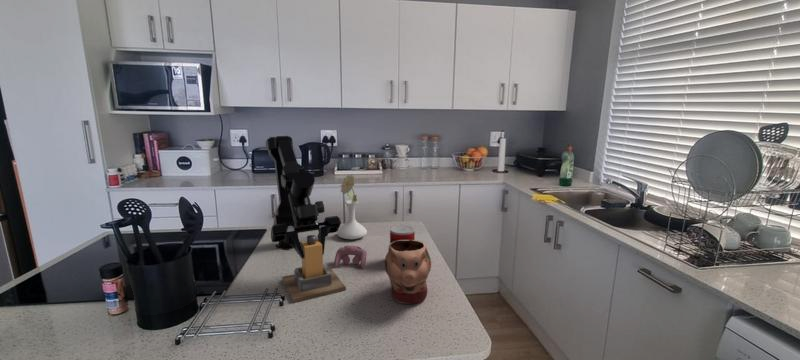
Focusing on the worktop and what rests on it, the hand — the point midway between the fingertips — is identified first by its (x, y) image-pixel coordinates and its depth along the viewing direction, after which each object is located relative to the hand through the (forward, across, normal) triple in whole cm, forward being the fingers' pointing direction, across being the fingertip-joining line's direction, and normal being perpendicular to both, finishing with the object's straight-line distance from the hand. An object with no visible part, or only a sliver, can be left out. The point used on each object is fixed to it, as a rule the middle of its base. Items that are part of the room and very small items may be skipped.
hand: (313, 256), depth 97 cm
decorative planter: (+17, +21, -4) cm, 27 cm away
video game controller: (0, +14, +13) cm, 19 cm away
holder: (+5, 0, +7) cm, 9 cm away
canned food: (+4, +29, +9) cm, 31 cm away
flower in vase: (-16, +23, +29) cm, 40 cm away
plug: (+5, 0, +6) cm, 8 cm away
